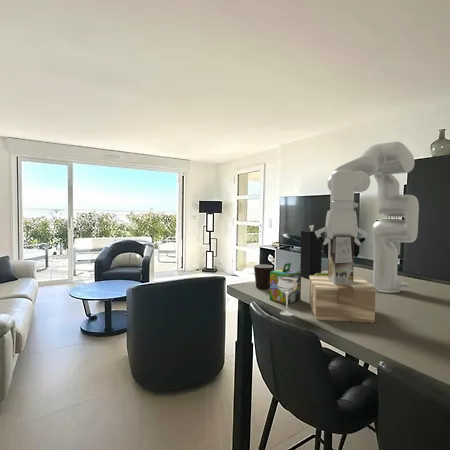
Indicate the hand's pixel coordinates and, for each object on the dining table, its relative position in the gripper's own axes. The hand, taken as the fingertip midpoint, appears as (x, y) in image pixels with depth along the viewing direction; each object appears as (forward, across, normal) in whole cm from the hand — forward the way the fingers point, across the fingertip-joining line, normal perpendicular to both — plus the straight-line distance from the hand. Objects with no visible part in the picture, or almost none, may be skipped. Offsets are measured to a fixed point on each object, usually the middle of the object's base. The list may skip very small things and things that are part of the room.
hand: (340, 256), depth 105 cm
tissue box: (+20, +3, -56) cm, 59 cm away
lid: (+14, 0, +1) cm, 14 cm away
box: (+20, 0, 0) cm, 20 cm away
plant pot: (+20, +1, -21) cm, 29 cm away
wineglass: (+20, +18, +4) cm, 27 cm away
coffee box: (+9, 0, 0) cm, 9 cm away
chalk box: (+20, +18, -12) cm, 29 cm away
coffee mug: (+20, +28, -28) cm, 44 cm away
